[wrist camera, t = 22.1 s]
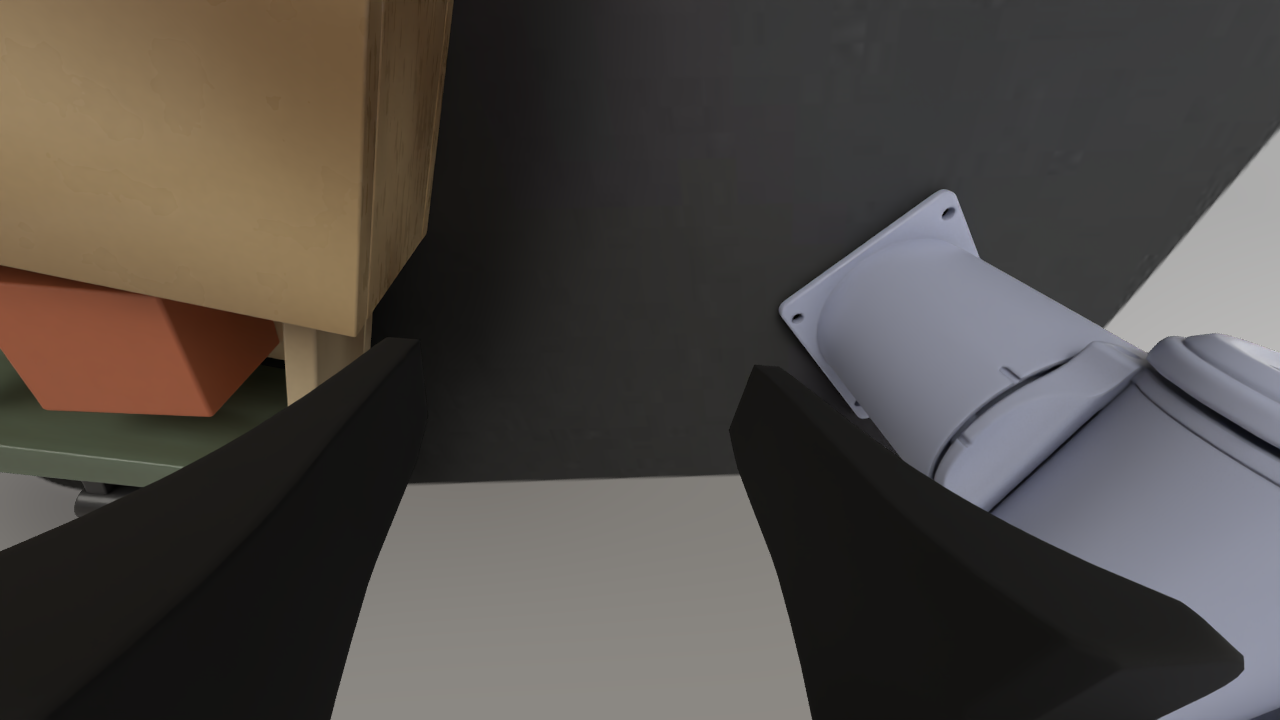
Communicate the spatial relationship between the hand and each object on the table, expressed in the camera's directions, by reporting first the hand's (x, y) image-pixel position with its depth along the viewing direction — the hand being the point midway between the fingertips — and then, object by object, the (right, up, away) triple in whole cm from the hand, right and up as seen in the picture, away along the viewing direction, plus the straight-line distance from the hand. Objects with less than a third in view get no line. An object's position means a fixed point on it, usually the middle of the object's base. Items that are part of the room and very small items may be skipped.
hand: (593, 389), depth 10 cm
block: (-14, +3, +5) cm, 15 cm away
